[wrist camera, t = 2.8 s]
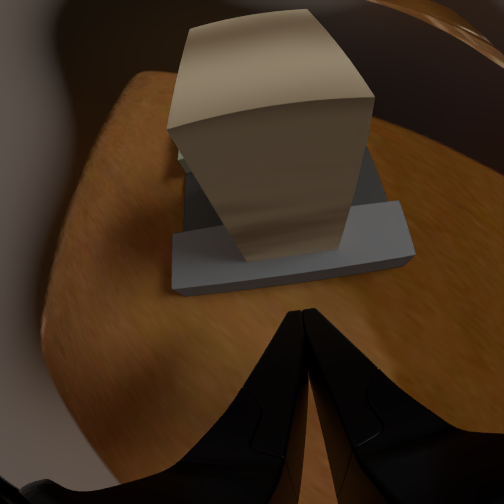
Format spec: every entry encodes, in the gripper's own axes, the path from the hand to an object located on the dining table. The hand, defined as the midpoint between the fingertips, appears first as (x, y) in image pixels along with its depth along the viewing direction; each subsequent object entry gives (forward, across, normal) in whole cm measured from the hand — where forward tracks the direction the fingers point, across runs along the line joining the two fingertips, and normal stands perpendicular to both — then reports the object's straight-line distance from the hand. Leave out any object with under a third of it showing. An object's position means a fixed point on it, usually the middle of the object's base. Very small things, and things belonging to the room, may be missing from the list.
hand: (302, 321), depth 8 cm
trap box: (+13, 0, -2) cm, 13 cm away
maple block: (+9, 0, -2) cm, 9 cm away
